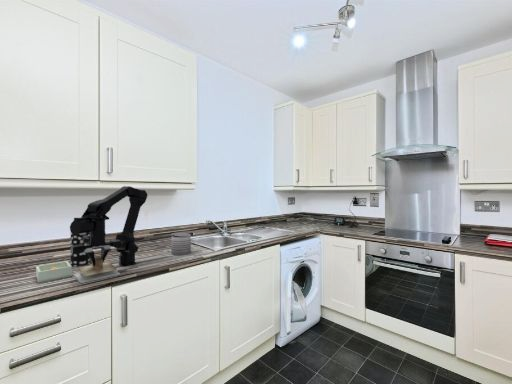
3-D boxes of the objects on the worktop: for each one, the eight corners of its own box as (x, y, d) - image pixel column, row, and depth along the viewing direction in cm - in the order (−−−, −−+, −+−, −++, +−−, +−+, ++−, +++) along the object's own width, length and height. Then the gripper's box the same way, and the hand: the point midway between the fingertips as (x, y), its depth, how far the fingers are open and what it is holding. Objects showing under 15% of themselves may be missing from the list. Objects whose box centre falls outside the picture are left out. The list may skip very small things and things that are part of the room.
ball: (57, 272, 109) (57, 265, 109) (59, 274, 107) (58, 267, 107) (48, 274, 107) (48, 267, 107) (49, 276, 105) (49, 268, 105)
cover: (108, 263, 118) (108, 253, 118) (116, 269, 109) (116, 259, 109) (78, 269, 109) (78, 258, 109) (84, 276, 101) (84, 264, 101)
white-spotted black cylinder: (94, 261, 129) (94, 223, 129) (83, 266, 121) (83, 226, 120) (78, 261, 129) (78, 223, 128) (66, 266, 120) (66, 226, 120)
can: (176, 250, 153) (176, 231, 153) (194, 251, 152) (194, 232, 152) (167, 255, 142) (167, 234, 142) (186, 256, 140) (186, 235, 140)
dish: (67, 270, 115) (67, 260, 115) (71, 276, 107) (71, 266, 107) (35, 276, 107) (35, 266, 107) (38, 283, 99) (38, 272, 99)
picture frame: (111, 267, 119) (111, 266, 119) (120, 274, 110) (120, 273, 110) (74, 275, 108) (74, 274, 108) (80, 283, 99) (80, 282, 99)
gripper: (115, 226, 121) (115, 257, 122) (68, 230, 108) (68, 265, 108) (122, 229, 114) (122, 262, 114) (73, 234, 100) (73, 272, 100)
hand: (97, 265), depth 109 cm, fingers closed on cover, 2 cm apart
